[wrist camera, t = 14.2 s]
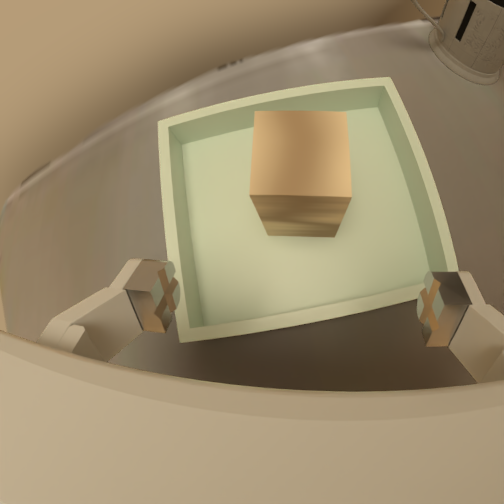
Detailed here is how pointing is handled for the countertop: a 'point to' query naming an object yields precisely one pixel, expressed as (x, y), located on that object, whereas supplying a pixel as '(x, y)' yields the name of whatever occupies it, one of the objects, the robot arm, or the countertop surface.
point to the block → (300, 172)
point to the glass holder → (470, 38)
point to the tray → (296, 247)
